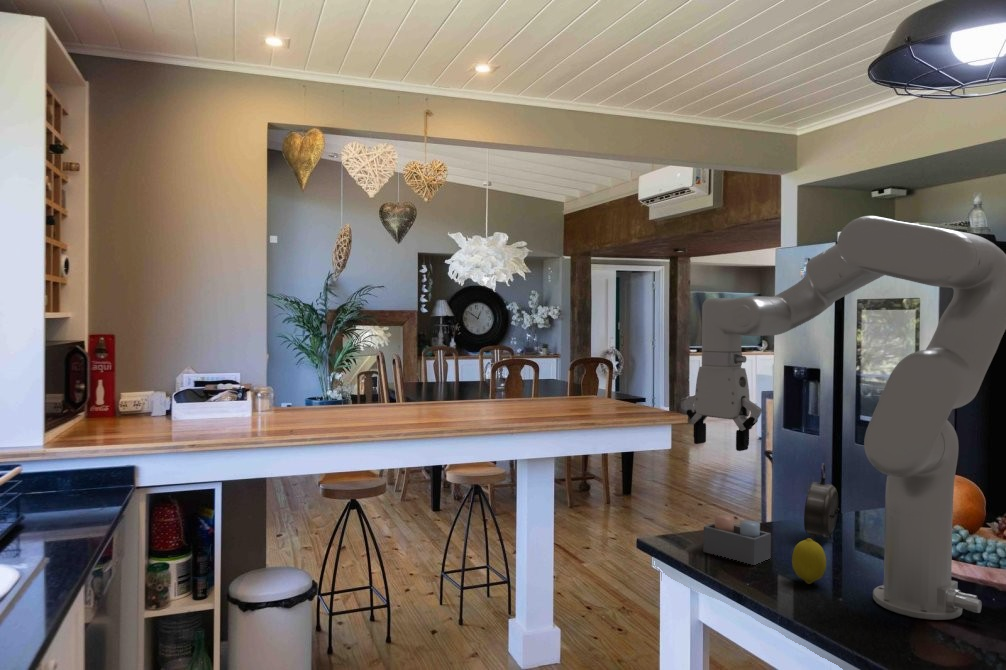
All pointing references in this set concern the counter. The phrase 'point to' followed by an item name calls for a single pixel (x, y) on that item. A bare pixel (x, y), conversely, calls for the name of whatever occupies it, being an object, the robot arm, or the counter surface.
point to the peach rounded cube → (724, 522)
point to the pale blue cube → (750, 528)
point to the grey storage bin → (737, 545)
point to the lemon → (809, 560)
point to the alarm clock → (821, 509)
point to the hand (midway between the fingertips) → (720, 446)
